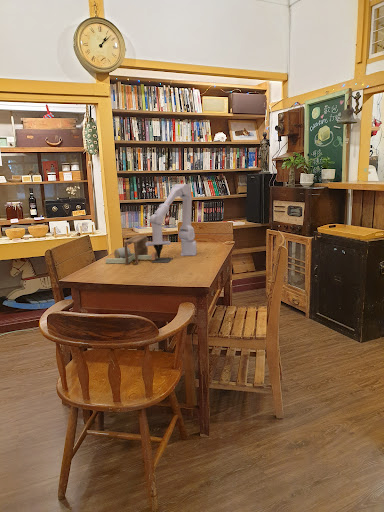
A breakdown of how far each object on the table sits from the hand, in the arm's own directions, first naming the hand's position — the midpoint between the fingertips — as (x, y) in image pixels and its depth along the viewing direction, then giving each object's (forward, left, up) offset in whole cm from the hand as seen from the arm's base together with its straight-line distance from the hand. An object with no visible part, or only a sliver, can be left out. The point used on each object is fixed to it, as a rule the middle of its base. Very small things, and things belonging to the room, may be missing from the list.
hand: (158, 257), depth 217 cm
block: (+16, 0, -2) cm, 16 cm away
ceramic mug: (+22, -1, -2) cm, 22 cm away
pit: (-2, 0, -2) cm, 3 cm away
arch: (+13, 0, -2) cm, 14 cm away
